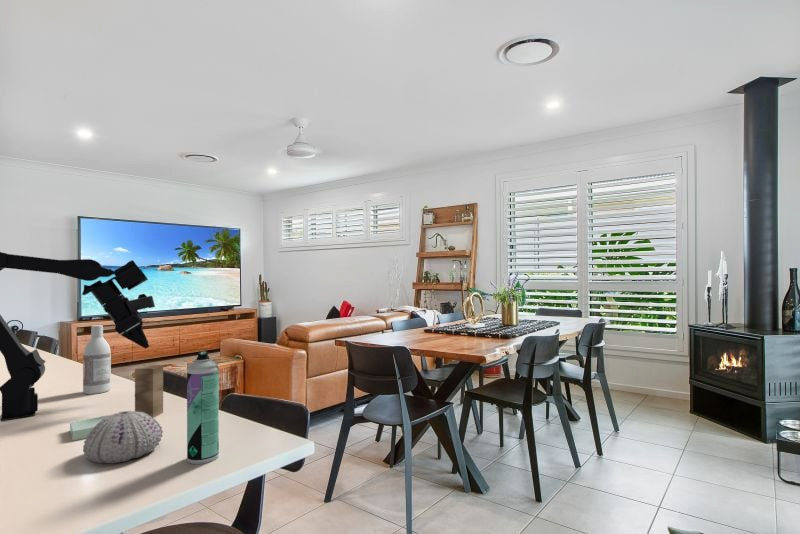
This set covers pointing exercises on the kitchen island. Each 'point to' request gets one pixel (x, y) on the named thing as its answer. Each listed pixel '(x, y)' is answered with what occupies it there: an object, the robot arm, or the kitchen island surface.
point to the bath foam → (96, 363)
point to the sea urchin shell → (122, 437)
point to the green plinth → (84, 427)
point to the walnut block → (149, 389)
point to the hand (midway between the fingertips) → (147, 345)
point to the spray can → (202, 410)
